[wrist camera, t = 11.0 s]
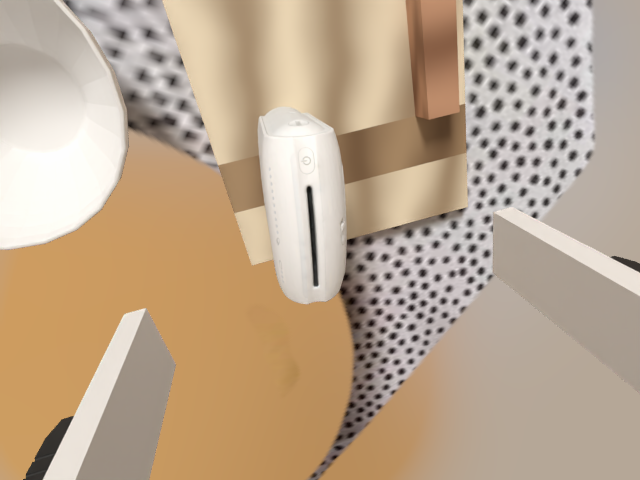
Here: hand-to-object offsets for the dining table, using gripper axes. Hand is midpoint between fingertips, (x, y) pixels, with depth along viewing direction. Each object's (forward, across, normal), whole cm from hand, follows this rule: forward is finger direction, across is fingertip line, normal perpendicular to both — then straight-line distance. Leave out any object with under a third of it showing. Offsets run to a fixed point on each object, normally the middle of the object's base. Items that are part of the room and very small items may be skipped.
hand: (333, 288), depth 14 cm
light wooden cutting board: (+18, +5, +4) cm, 20 cm away
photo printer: (+17, 0, 0) cm, 17 cm away
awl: (+17, +12, +9) cm, 23 cm away
